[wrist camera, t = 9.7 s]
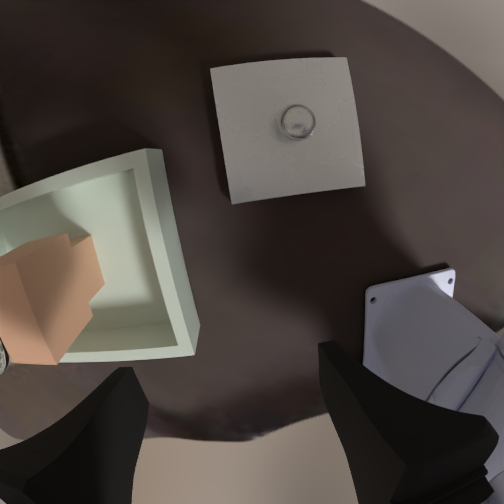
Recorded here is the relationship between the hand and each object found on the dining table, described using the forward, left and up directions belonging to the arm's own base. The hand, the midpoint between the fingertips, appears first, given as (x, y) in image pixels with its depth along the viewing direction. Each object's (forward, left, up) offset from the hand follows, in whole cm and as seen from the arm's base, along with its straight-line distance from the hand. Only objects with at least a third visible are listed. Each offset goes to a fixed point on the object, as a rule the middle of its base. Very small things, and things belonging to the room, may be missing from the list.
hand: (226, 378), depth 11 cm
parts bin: (+3, +10, -9) cm, 14 cm away
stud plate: (+9, -5, -9) cm, 14 cm away
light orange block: (+3, +10, -9) cm, 14 cm away
